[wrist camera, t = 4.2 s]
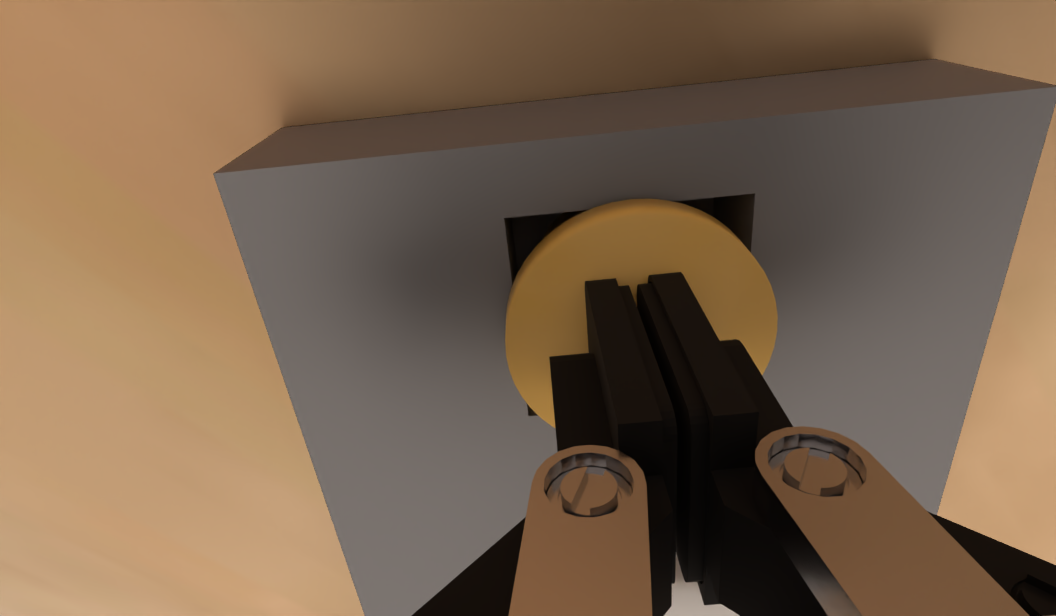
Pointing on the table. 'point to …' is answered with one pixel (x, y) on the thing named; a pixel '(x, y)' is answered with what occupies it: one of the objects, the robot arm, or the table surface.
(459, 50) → the table surface
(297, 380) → the panel
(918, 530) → the robot arm
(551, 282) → the amber button
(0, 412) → the table surface
